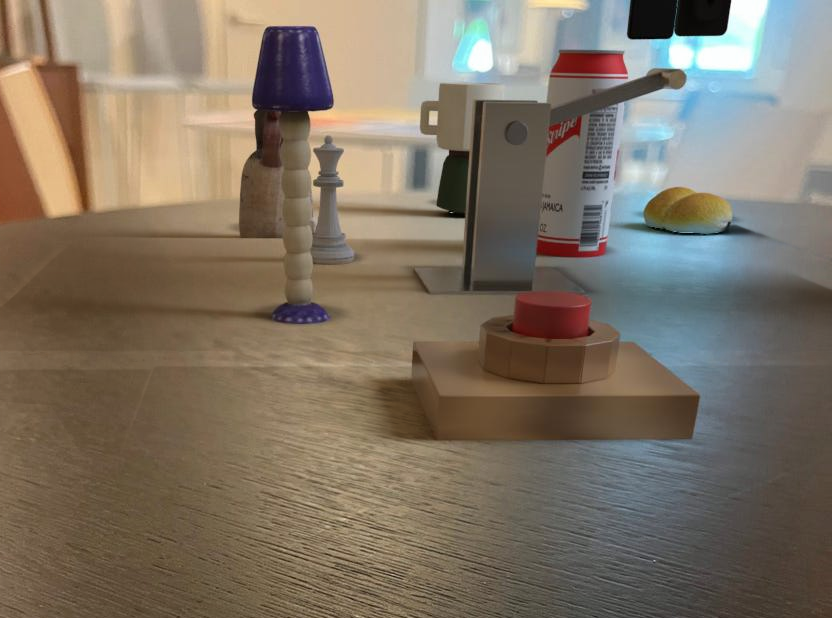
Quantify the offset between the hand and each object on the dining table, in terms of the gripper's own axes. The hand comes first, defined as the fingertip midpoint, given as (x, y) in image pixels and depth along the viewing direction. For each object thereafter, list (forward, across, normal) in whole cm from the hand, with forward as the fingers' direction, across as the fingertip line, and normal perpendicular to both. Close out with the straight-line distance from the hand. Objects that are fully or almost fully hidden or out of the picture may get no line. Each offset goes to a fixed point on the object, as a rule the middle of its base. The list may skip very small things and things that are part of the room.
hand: (673, 37), depth 68 cm
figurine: (+16, +25, +27) cm, 40 cm away
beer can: (+17, +14, +2) cm, 22 cm away
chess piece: (+16, +9, +23) cm, 30 cm away
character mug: (+16, +45, +6) cm, 48 cm away
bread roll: (+17, +35, -16) cm, 42 cm away
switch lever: (+5, 0, +5) cm, 7 cm away
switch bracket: (+16, 0, +11) cm, 20 cm away
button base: (+16, -28, +14) cm, 35 cm away
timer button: (+13, -28, +14) cm, 34 cm away
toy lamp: (+16, -12, +26) cm, 33 cm away
